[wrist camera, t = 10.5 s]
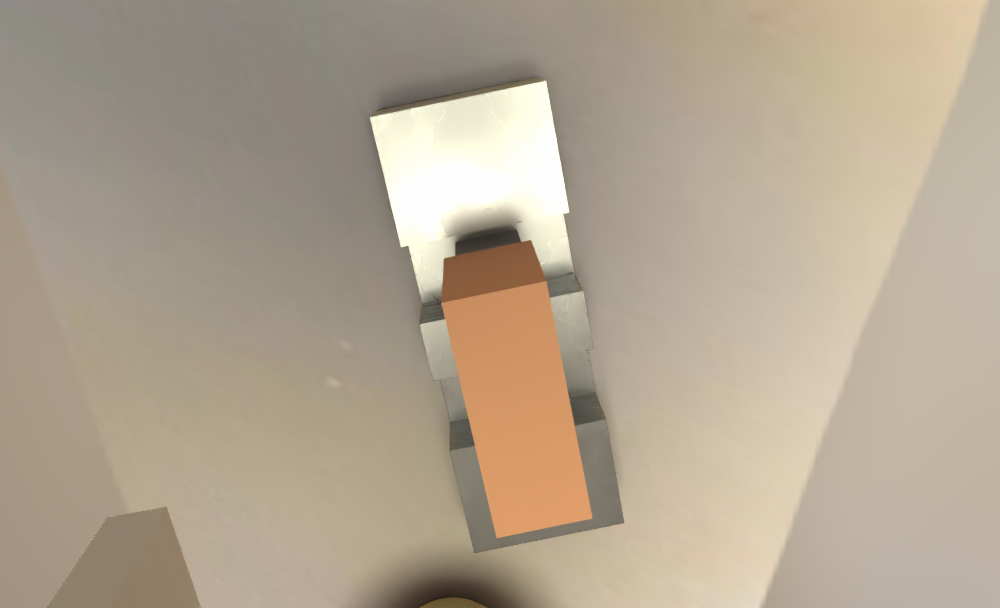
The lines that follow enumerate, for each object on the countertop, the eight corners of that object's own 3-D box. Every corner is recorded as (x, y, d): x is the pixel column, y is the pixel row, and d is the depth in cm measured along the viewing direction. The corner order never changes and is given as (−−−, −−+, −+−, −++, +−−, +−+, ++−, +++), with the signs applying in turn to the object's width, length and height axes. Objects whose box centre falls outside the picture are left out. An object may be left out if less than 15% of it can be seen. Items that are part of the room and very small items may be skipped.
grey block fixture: (377, 110, 37) (369, 117, 34) (537, 76, 37) (546, 80, 34) (473, 513, 43) (474, 553, 40) (611, 485, 43) (624, 523, 40)
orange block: (445, 233, 38) (441, 303, 28) (522, 217, 38) (546, 280, 28) (486, 415, 41) (496, 538, 31) (559, 400, 41) (592, 518, 31)
